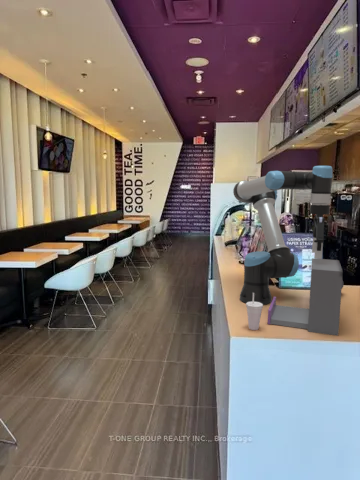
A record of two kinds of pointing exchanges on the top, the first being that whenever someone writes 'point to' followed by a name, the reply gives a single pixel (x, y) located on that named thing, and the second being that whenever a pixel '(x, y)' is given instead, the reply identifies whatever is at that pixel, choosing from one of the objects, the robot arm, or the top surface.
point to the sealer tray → (288, 315)
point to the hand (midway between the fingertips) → (316, 255)
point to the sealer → (325, 296)
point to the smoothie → (254, 314)
